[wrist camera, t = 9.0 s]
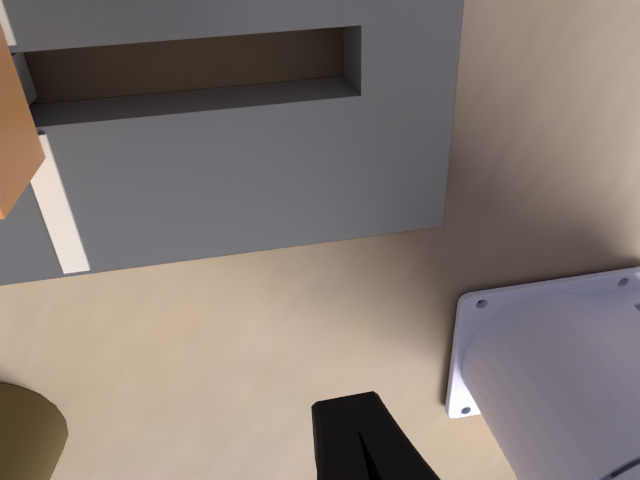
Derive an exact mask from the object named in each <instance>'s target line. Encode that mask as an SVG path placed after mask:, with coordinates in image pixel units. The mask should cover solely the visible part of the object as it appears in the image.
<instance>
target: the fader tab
mask: <svg viewBox="0 0 640 480" xmlns="http://www.w3.org/2000/svg"><path fill="white" fill-rule="evenodd" d="M36 98H37V94H36V91H35V88H34V84H33V81H32V78H31V75H30V72H29V69H28V66H27V63H26V60H25V57H24V54H23V52H17V53H10V50H9V47H8V44H7V41H6V38H5V35H4V32H3V29H2V26H1V23H0V219H5V218H6V217H7V215H8V214H9V212H10V211H11V209H12V208H13V206H14V205H15V203H16V202H17V200H18V199H19V197H20V196H21V194H22V193H23V191H24V190H25V188H26V187H27V185H28V184H29V182H30V181H31V179H32V178H33V176H34V175H35V173H36V172H37V170H38V169H39V167H40V166H41V164H42V163H43V162H44V160H45V159H46V157H45V154H44V151H43V148H42V145H41V142H40V139H39V136H38V133H37V130H36V127H35V124H34V121H33V118H32V115H31V112H30V109H29V105H30V104H31V103H32V102H33V101H34V100H35V99H36Z"/></svg>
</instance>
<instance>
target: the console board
mask: <svg viewBox="0 0 640 480" xmlns="http://www.w3.org/2000/svg"><path fill="white" fill-rule="evenodd" d="M463 5H464V0H0V23H1V26H2V29H3V32H4V35H5V38H6V41H7V44H8V47H9V50H10V53H17V52H29V51H42V50H55V49H67V48H80V47H92V46H105V45H118V44H130V43H143V42H156V41H168V40H181V39H194V38H206V37H219V36H232V35H244V34H257V33H270V32H282V31H295V30H308V29H320V28H333V27H343V46H344V76H339V77H328V78H317V79H306V80H295V81H284V82H273V83H262V84H251V85H240V86H229V87H218V88H207V89H197V90H186V91H175V92H164V93H153V94H142V95H131V96H120V97H109V98H98V99H87V100H76V101H66V102H55V103H44V104H33V105H29V109H30V112H31V115H32V118H33V121H34V124H35V127H36V130H37V133H38V136H39V139H40V142H41V145H42V148H43V151H44V154H45V157H46V159H45V160H44V162H43V163H42V164H41V166H40V167H39V169H38V170H37V172H36V173H35V175H34V176H33V178H32V179H31V181H30V182H29V184H28V185H27V187H26V188H25V190H24V191H23V193H22V194H21V196H20V197H19V199H18V200H17V202H16V203H15V205H14V206H13V208H12V209H11V211H10V212H9V214H8V215H7V217H6V218H5V219H0V286H1V285H8V284H16V283H23V282H31V281H38V280H46V279H53V278H61V277H68V276H76V275H83V274H91V273H98V272H106V271H113V270H121V269H128V268H136V267H143V266H151V265H158V264H166V263H173V262H181V261H188V260H196V259H203V258H211V257H218V256H226V255H233V254H241V253H248V252H256V251H263V250H271V249H278V248H286V247H294V246H301V245H309V244H316V243H324V242H331V241H339V240H346V239H354V238H361V237H369V236H376V235H384V234H391V233H399V232H406V231H414V230H421V229H429V228H436V227H443V222H444V211H445V200H446V189H447V179H448V168H449V157H450V146H451V135H452V124H453V113H454V103H455V92H456V81H457V70H458V59H459V48H460V37H461V26H462V16H463Z"/></svg>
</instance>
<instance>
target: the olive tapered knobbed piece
mask: <svg viewBox="0 0 640 480" xmlns="http://www.w3.org/2000/svg"><path fill="white" fill-rule="evenodd" d="M67 437H68V430H67V424H66V420H65V418H64V417H63V415H62V414H61V413H60V411H59V410H58V408H57V407H56V406H55V405H54V404H52V403H51V402H50V401H48V400H47V399H45V398H44V397H43V396H41V395H40V394H37V393H35V392H32V391H30V390H27V389H25V388H22V387H20V386H16V385H10V384H3V383H0V480H50V478H51V476H52V473H53V471H54V469H55V467H56V464H57V462H58V460H59V458H60V455H61V453H62V451H63V449H64V446H65V443H66V440H67Z"/></svg>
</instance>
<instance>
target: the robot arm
mask: <svg viewBox="0 0 640 480" xmlns="http://www.w3.org/2000/svg"><path fill="white" fill-rule="evenodd" d="M480 300H483V301H481V302H480V303H478V302H479V301H480ZM477 303H478V304H477ZM311 408H312V422H313V436H314V450H315V462H316V468H317V480H440V478H439V477H438V476H437V475H436V474H435V472H434V471H433V470H432V469H431V467H430V466H429V465H428V464H427V463H426V461H425V460H424V459H423V458H422V456H421V455H420V454H419V452H418V451H417V450H416V449H415V447H414V446H413V445H412V443H411V442H410V441H409V439H408V438H407V437H406V435H405V434H404V433H403V431H402V430H401V428H400V427H399V426H398V424H397V423H396V421H395V420H394V419H393V417H392V416H391V414H390V413H389V411H388V410H387V408H386V407H385V405H384V404H383V402H382V400H381V399H380V397H379V395H378V394H377V393H375V392H373V391H371V392H366V393H360V394H355V395H350V396H344V397H339V398H334V399H328V400H323V401H318V402H316V403H315V404H314V405H312V406H311ZM445 411H446V413H447V415H448V416H449V417H450V418H460V417H465V416H471V415H476V414H482V416H483V417H484V419H485V421H486V423H487V425H488V426H489V428H490V430H491V432H492V434H493V435H494V437H495V439H496V441H497V443H498V444H499V446H500V448H501V450H502V452H503V453H504V455H505V457H506V459H507V461H508V462H509V464H510V466H511V468H512V470H513V471H514V473H515V475H516V477H517V479H518V480H640V267H634V268H627V269H621V270H614V271H607V272H601V273H594V274H588V275H581V276H574V277H568V278H561V279H555V280H548V281H541V282H535V283H528V284H522V285H515V286H508V287H502V288H495V289H489V290H482V291H475V292H469V293H466V294H464V295H462V296H461V297H460V299H459V300H458V304H457V313H456V321H455V329H454V338H453V346H452V355H451V363H450V371H449V380H448V388H447V397H446V405H445Z"/></svg>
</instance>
